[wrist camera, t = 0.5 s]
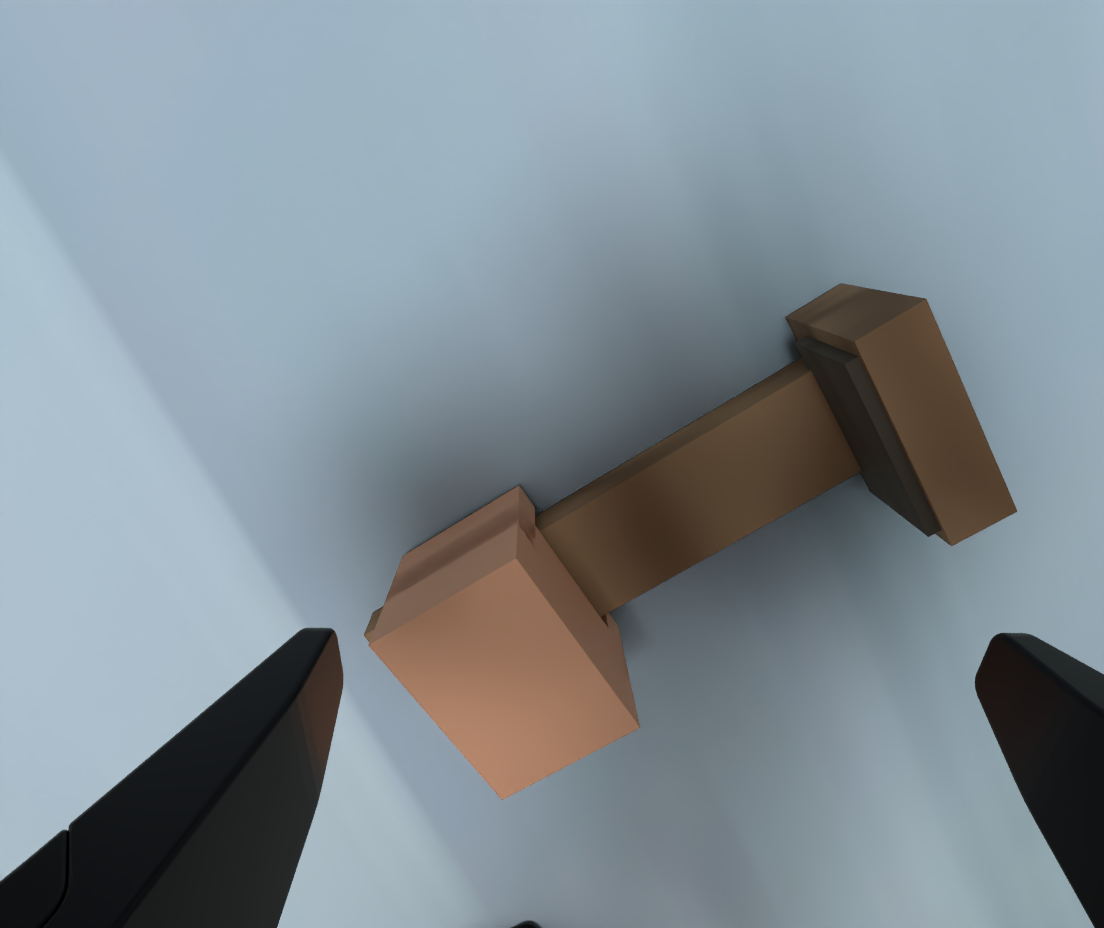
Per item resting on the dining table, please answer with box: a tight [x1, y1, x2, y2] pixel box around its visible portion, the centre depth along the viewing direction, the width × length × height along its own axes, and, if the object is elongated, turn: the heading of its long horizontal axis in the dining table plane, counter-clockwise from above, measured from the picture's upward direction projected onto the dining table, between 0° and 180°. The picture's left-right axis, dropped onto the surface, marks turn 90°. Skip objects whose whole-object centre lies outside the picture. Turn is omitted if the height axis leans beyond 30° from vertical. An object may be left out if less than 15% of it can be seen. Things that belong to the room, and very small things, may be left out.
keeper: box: [369, 485, 640, 800], centre depth 22 cm, size 5×7×6 cm
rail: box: [364, 284, 1017, 642], centre depth 22 cm, size 20×7×5 cm, turn 122°
